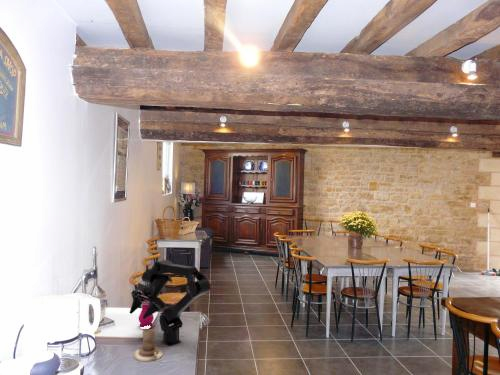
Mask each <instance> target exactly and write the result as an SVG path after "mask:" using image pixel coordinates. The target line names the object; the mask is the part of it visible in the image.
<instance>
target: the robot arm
mask: <svg viewBox="0 0 500 375" xmlns="http://www.w3.org/2000/svg"><path fill="white" fill-rule="evenodd" d="M170 274H173V275H179V276H185V278H186V284H187V285H186V286H188V292H187V293H186V294H185V295H184V296H183V297H182V298H181V299H180V300H178V302H177V303H176V304H175V305H173V306H169V307H166V303H165V301H164V300H162V299H161V297H159V296H160V295H162V294H163V289H164V288H165V287H166V285H167V284H168V282H169V283H172V282H173V280H172V275H170ZM193 278H195V279H196V280H197V281H194V279H193ZM141 281H142V282H143V283H145V284H147V285H145V284H142V283H139V282H138V284H137V287H136V289H133V290H132V291H131V293H130V295H131V297H132V304H131V307H130V310H129V314H134V312H135V311H136V310H137V309H138V308H140V306H142V302H143V301H144V300H146V301H148V302H149V307H148V309H147V310H146V312H145V314H144V315H143V317H142V318H143V319H145V318H147V317H148V316H150V315H152V314H153V315H154V314H155V313H157V312H160V311H161V310H162V312H160V315H159V316H158V317H159V326H160V330H161V331H162V332H163V333H162V340H161V342H162V343H164V344H165V345H166V346H169V347H170V346H173V345H177V344H180V343H182V340H180V329H181V328H183V322H182V319H181V314H182V313H183V312H184V311H185V310H186V309H187V308H188V307H189V306H190V305H191V304H192V303H194V302H195V300H197V298H199V297H201V296H204V295H205V294H207V293H209V292H210V291H211V283H210V282H209V280H208V278H207V277H206V276H205V275H204V274H203V273H202V272H200V271H199V270H198V268H197V267H196V266H193V265H192V266H190V265H184V264H178V263H177V264H176V263H173V262H172V261H171V260H168V259H164V260H157V261H154V263H153V266H152V267H151V268H150V267H148V268H145V271H144V272H143V273H142V275H141ZM142 293H143V294H144V295H143V294H142ZM146 298H147V299H146Z"/></svg>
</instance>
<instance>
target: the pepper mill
mask: <svg viewBox="0 0 500 375" xmlns="http://www.w3.org/2000/svg"><path fill="white" fill-rule="evenodd" d="M141 293H142V292H141ZM142 294H143V293H142ZM143 295H144V294H143ZM146 299H147V298H146ZM141 307H142V308H141V311H140V313H139V316H138V322H139V328H140V327H144V326H147V325H148V326H149V325H150V326H151V329H153V322H154V313H153V314H152V315H150V316H148V317H147V318H145V319H143V318H142V317H143V315H144V314H145V312H146V310H147V309H148V307H149V302H148V301H146V300H144V301H143V302H142V304H141Z"/></svg>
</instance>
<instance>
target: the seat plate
mask: <svg viewBox="0 0 500 375" xmlns="http://www.w3.org/2000/svg"><path fill="white" fill-rule="evenodd" d="M158 348H159V352H158V354H156V352H154V356H147V357H146V356H141V355H140V354H139V349H140V348H138V349H137V350H135V351H134V353H133V357H134V359H135V360H136V361H138V362H139V361H140V362H153V361H157V360H160V359H161V358H163V356H164V350H163V349H162V348H160V347H158ZM162 355H163V356H162ZM160 357H161V358H160Z"/></svg>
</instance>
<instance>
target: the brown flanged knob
mask: <svg viewBox="0 0 500 375" xmlns="http://www.w3.org/2000/svg"><path fill="white" fill-rule="evenodd" d="M159 348H160V347H158V345H156V330H155V329H153V328H151V329H146V330H144V329H143V331H142V346H141V347H140V348H138V349H139V354H140V355H141V356H146V357H147V356H154V352H156V354H158V352H159Z"/></svg>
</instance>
